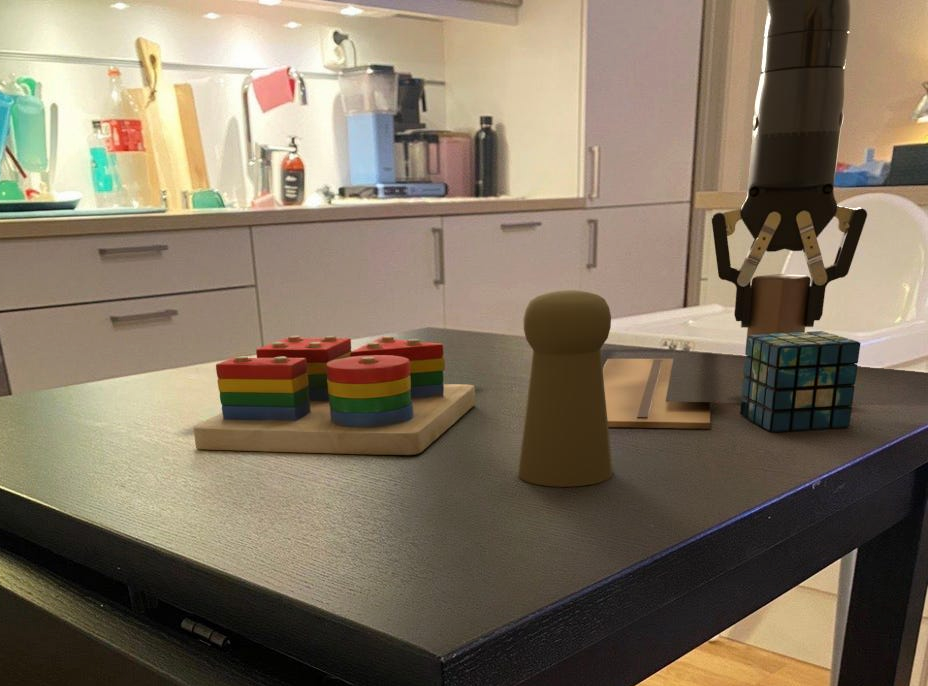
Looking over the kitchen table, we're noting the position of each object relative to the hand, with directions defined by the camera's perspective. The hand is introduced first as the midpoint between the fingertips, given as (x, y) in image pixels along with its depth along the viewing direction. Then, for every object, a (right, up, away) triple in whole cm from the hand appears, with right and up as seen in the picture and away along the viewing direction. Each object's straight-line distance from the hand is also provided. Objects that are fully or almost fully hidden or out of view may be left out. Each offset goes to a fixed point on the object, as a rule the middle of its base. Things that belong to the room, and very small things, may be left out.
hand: (776, 325), depth 94 cm
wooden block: (0, -3, +2) cm, 4 cm away
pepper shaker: (-24, -20, -32) cm, 45 cm away
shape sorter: (-40, -14, -17) cm, 45 cm away
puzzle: (-6, -14, -21) cm, 26 cm away
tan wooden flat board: (-14, -9, -9) cm, 19 cm away
